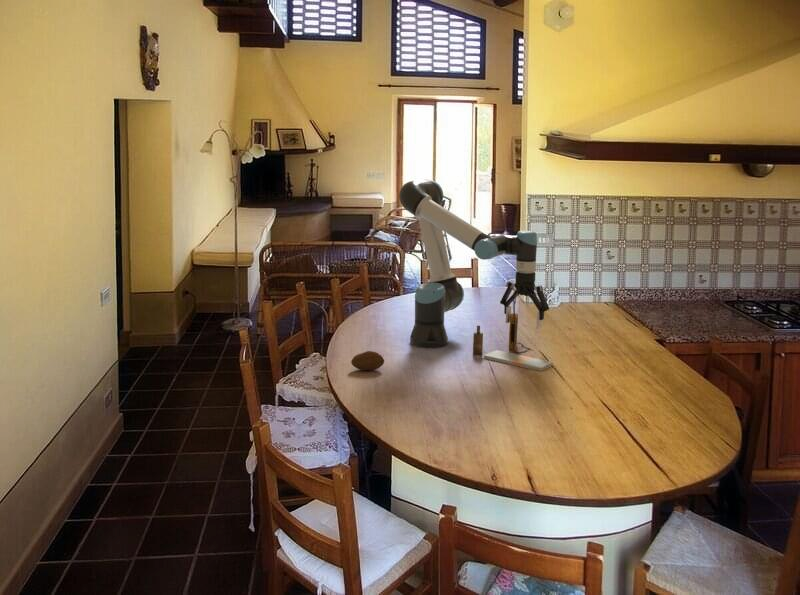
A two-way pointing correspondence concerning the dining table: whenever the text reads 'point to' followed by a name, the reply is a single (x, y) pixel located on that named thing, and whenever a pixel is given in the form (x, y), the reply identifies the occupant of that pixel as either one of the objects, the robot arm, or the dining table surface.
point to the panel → (518, 360)
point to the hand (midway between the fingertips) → (523, 325)
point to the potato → (368, 361)
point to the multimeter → (514, 330)
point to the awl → (477, 342)
